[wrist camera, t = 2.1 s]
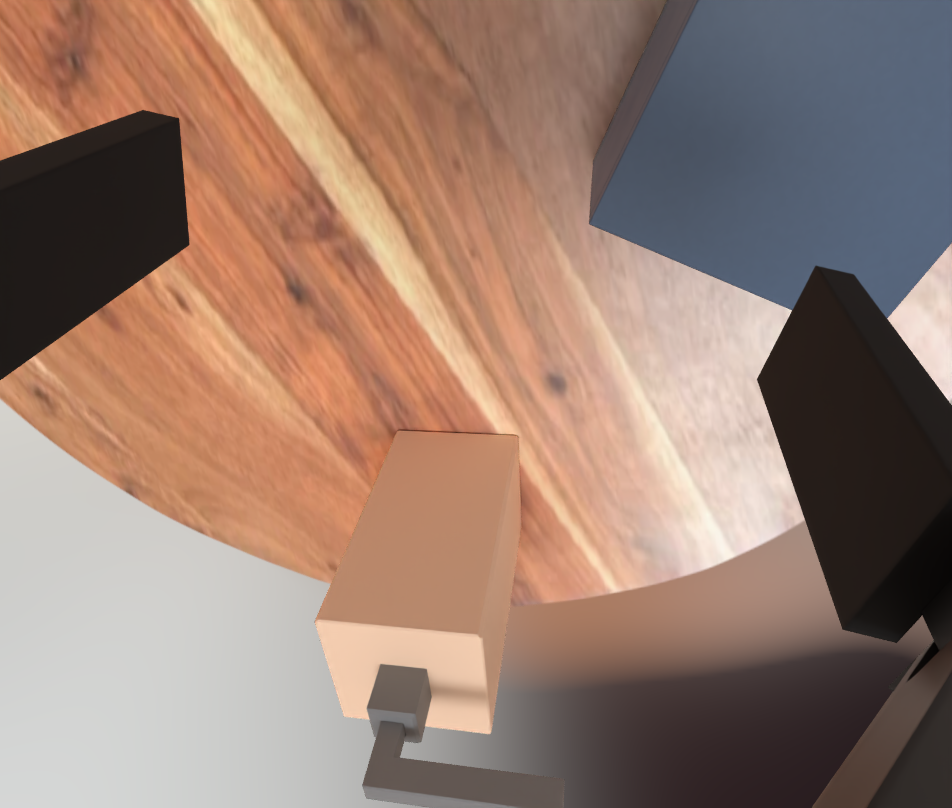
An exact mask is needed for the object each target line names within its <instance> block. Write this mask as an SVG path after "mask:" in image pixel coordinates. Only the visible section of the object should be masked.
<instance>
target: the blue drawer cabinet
mask: <svg viewBox="0 0 952 808" xmlns="http://www.w3.org/2000/svg"><path fill="white" fill-rule="evenodd" d="M589 224H590V225H592V226H595V227H597V228H599V229H602V230H604V231H606V232H609V233H611V234H614V235H616V236H618V237H621V238H623V239H625V240H628V241H630V242H632V243H635V244H637V245H639V246H642V247H644V248H647V249H649V250H651V251H654V252H656V253H658V254H661V255H663V256H665V257H668V258H670V259H672V260H675V261H677V262H680V263H682V264H684V265H687V266H689V267H691V268H694V269H696V270H698V271H701V272H703V273H705V274H708V275H710V276H713V277H715V278H717V279H720V280H722V281H724V282H727V283H729V284H731V285H734V286H736V287H739V288H741V289H743V290H746V291H748V292H750V293H753V294H755V295H757V296H760V297H762V298H764V299H767V300H769V301H772V302H774V303H776V304H779V305H781V306H783V307H786V308H788V309H790V310H793V308H794V306H795V304H796V302H797V300H798V298H799V297H800V295H801V293H802V291H803V289H804V287H805V285H806V283H807V281H808V279H809V277H810V275H811V273H812V271H813V269H814V267H815V265H816V266H820V267H825V268H829V269H833V270H838V271H842V272H846V273H851V274H854V275H855V276H856V278H857V279H858V280H859V282H860V283H861V285H862V286H863V287H864V289H865V290H866V291H867V293H868V294H869V295H870V297H871V298H872V299H873V301H874V302H875V303H876V305H877V306H878V307H879V309H880V310H881V311H882V313H883V314H884V315H885V317H886V318H888V317H889V316H890V315H891V313H892V312H893V311H894V310H895V309H896V307H897V306H898V305H899V304H900V303H901V302H902V300H903V299H904V298H905V297H906V296H907V295H908V293H909V292H910V291H911V290H912V289H913V288H914V286H915V285H916V284H917V283H918V282H919V281H920V279H921V278H922V277H923V276H924V275H925V273H926V272H927V271H928V270H929V269H930V268H931V266H932V265H933V264H934V263H935V262H936V261H937V259H938V258H939V257H940V256H941V255H942V254H943V252H944V251H945V250H946V249H947V248H948V247H949V245H950V244H951V243H952V0H667V2H666V4H665V6H664V8H663V11H662V13H661V15H660V17H659V19H658V21H657V24H656V26H655V28H654V30H653V32H652V34H651V37H650V39H649V41H648V43H647V45H646V47H645V50H644V52H643V54H642V56H641V58H640V60H639V63H638V65H637V67H636V69H635V71H634V73H633V76H632V78H631V80H630V82H629V84H628V86H627V88H626V91H625V93H624V95H623V97H622V99H621V101H620V104H619V106H618V108H617V110H616V112H615V114H614V117H613V119H612V121H611V123H610V125H609V127H608V130H607V132H606V134H605V136H604V138H603V140H602V143H601V145H600V147H599V149H598V151H597V153H596V156H595V158H594V160H593V172H592V187H591V201H590V216H589Z"/></svg>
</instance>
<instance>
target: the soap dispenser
mask: <svg viewBox="0 0 952 808" xmlns="http://www.w3.org/2000/svg"><path fill="white" fill-rule="evenodd" d="M521 527H522V522H521V495H520V469H519V443H518V437H517V436H514V435H491V434H468V433H445V432H422V431H397V432H396V435H395V437H394V439H393V442H392V444H391V446H390V448H389V451H388V453H387V455H386V458H385V460H384V462H383V465H382V467H381V469H380V472H379V474H378V476H377V479H376V481H375V483H374V485H373V488H372V490H371V492H370V495H369V497H368V499H367V502H366V504H365V506H364V509H363V511H362V513H361V516H360V518H359V520H358V522H357V525H356V527H355V529H354V532H353V534H352V536H351V539H350V541H349V543H348V546H347V548H346V550H345V553H344V555H343V557H342V560H341V562H340V564H339V566H338V569H337V571H336V573H335V576H334V578H333V580H332V583H331V585H330V588H329V590H328V592H327V594H326V597H325V599H324V601H323V603H322V606H321V608H320V611H319V613H318V615H317V617H316V620H315V625H316V628H317V631H318V634H319V637H320V640H321V644H322V647H323V650H324V654H325V657H326V660H327V663H328V666H329V669H330V673H331V676H332V679H333V682H334V686H335V688H336V692H337V695H338V699H339V702H340V705H341V708H342V711H343V715H344V716H345V717H352V718H360V719H368V720H370V723H371V726H372V730H373V734H374V736H375V737H376V740H375V744H374V747H373V751H372V754H371V758H370V761H369V764H368V768H367V771H366V774H365V778H364V782H363V785H362V786H363V789H364V793H365V796H366V798H367V799H374V800H380V801H387V802H394V803H401V804H409V805H415V806H422V807H429V808H563V802H564V779H560V778H552V777H544V776H536V775H528V774H521V773H513V772H506V771H498V770H490V769H482V768H474V767H467V766H459V765H451V764H443V763H436V762H428V761H421V760H413V759H405V758H400V755H401V751H402V747H403V743H404V741H405V742H413V743H419V742H421V741H422V736H423V732H424V728H425V726H427V727H435V728H443V729H451V730H460V731H468V732H476V733H484V734H490V733H491V731H492V724H493V717H494V710H495V704H496V696H497V690H498V683H499V676H500V669H501V663H502V656H503V649H504V642H505V636H506V629H507V621H508V615H509V608H510V602H511V595H512V588H513V581H514V574H515V568H516V561H517V554H518V547H519V540H520V533H521Z"/></svg>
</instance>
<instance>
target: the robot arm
mask: <svg viewBox="0 0 952 808" xmlns="http://www.w3.org/2000/svg"><path fill="white" fill-rule="evenodd" d="M188 245H189V233H188V221H187V209H186V197H185V185H184V173H183V161H182V149H181V137H180V124H179V118H175V117H171V116H166V115H162V114H158V113H154V112H149V111H145V110H142V111H139V112H136V113H133V114H131V115H128V116H125V117H122V118H119V119H117V120H114V121H111V122H108V123H105V124H102V125H100V126H97V127H94V128H91V129H88V130H86V131H83V132H80V133H77V134H74V135H71V136H69V137H66V138H63V139H60V140H57V141H55V142H52V143H49V144H46V145H43V146H40V147H38V148H35V149H32V150H29V151H26V152H24V153H21V154H18V155H15V156H12V157H9V158H7V159H4V160H1V161H0V380H1V379H3V378H4V377H5V376H7V375H8V374H10V373H11V372H12V371H14V370H15V369H17V368H18V367H19V366H21V365H22V364H24V363H25V362H26V361H28V360H29V359H31V358H32V357H33V356H35V355H36V354H38V353H39V352H40V351H42V350H43V349H45V348H46V347H47V346H49V345H50V344H52V343H53V342H54V341H56V340H57V339H59V338H60V337H61V336H63V335H64V334H66V333H67V332H68V331H70V330H71V329H73V328H74V327H75V326H77V325H78V324H80V323H81V322H82V321H84V320H85V319H87V318H88V317H89V316H91V315H92V314H93V313H95V312H96V311H98V310H99V309H100V308H102V307H103V306H105V305H106V304H107V303H109V302H110V301H112V300H113V299H114V298H116V297H117V296H119V295H120V294H121V293H123V292H124V291H126V290H127V289H128V288H130V287H131V286H133V285H134V284H135V283H137V282H138V281H140V280H141V279H142V278H144V277H145V276H147V275H148V274H149V273H151V272H152V271H154V270H155V269H156V268H158V267H159V266H161V265H162V264H163V263H165V262H166V261H168V260H169V259H170V258H172V257H173V256H175V255H176V254H177V253H179V252H180V251H181V250H183V249H184V248H186V247H187V246H188ZM757 381H758V384H759V387H760V389H761V392H762V395H763V398H764V401H765V404H766V407H767V410H768V413H769V416H770V419H771V422H772V425H773V427H774V430H775V433H776V436H777V439H778V442H779V445H780V448H781V451H782V454H783V457H784V460H785V462H786V465H787V468H788V471H789V474H790V477H791V480H792V483H793V486H794V489H795V492H796V495H797V498H798V500H799V503H800V506H801V509H802V512H803V515H804V518H805V521H806V524H807V527H808V530H809V533H810V535H811V538H812V541H813V544H814V547H815V550H816V553H817V556H818V559H819V562H820V565H821V567H822V570H823V573H824V576H825V579H826V582H827V585H828V588H829V591H830V594H831V597H832V600H833V603H834V606H835V609H836V611H837V614H838V617H839V620H840V623H841V626H842V629H843V630H847V631H851V632H855V633H859V634H863V635H867V636H871V637H875V638H879V639H883V640H887V641H892V642H895V643H897V642H898V641H899V640H900V639H901V638H902V637H903V635H904V634H905V633H906V632H907V631H908V630H909V629H910V628H911V627H912V626H913V624H915V623H916V621H917V620H918V619H919V618H920V617H921V616H922V615H923V617H924V620H925V622H926V624H927V626H928V628H929V630H930V632H931V635H932V637H933V639H934V640H933V642H932V643H931V644H930V645H929V646H928V647H927V648H926V649H925V650H924V651H923V652H922V653H921V654H920V655H919V656H918V657H917V658H916V659H915V660H914V661H913V662H912V663H911V664H910V665H909V666H908V667H907V668H906V669H905V670H904V671H903V672H902V673H901V674H900V675H899V677H897V678H896V679H895V680H894V681H893V683H892V684H891V685H890V686H889V687H888V688H890V689H891V690H892V691H893V693H892V694H891V696H890V697H889V698H888V700H887V701H886V703H885V704H884V706H883V707H882V708H881V710H880V711H879V713H878V714H877V715H876V717H875V718H874V720H873V721H872V723H871V724H870V726H869V727H868V728H867V730H866V731H865V733H864V734H863V736H862V737H861V738H860V740H859V741H858V743H857V744H856V746H855V747H854V748H853V750H852V751H851V753H850V754H849V755H848V757H847V758H846V760H845V761H844V763H843V764H842V766H841V767H840V768H839V770H838V771H837V773H836V774H835V776H834V777H833V778H832V780H831V781H830V782H829V784H828V785H827V787H826V788H825V790H824V791H823V793H822V794H821V795H820V797H819V798H818V800H817V801H816V802H815V804H814V805H813V807H812V808H952V405H951V404H950V403H949V401H948V400H947V398H946V397H945V396H944V394H943V393H942V392H941V390H940V389H939V388H938V386H937V385H936V384H935V382H934V381H933V380H932V378H931V377H930V376H929V374H928V373H927V372H926V370H925V369H924V368H923V366H922V365H921V364H920V362H919V361H918V360H917V358H916V357H915V356H914V354H913V353H912V352H911V350H910V349H909V348H908V346H907V345H906V344H905V342H904V341H903V339H902V338H901V337H900V335H899V334H898V333H897V331H896V330H895V329H894V327H893V326H892V325H891V323H890V322H889V321H888V319H887V318H886V317H885V315H884V314H883V313H882V311H881V310H880V309H879V307H878V306H877V305H876V303H875V302H874V301H873V299H872V298H871V297H870V295H869V294H868V293H867V291H866V290H865V289H864V287H863V286H862V285H861V283H860V282H859V280H858V279H857V278H856V276H855V275H854V274H851V273H846V272H842V271H838V270H833V269H829V268H825V267H820V266H816V265H815V267H814V269H813V271H812V273H811V275H810V277H809V279H808V281H807V283H806V285H805V287H804V289H803V291H802V293H801V295H800V297H799V298H798V300H797V302H796V304H795V306H794V308H793V310H792V312H791V314H790V316H789V318H788V320H787V322H786V324H785V326H784V328H783V330H782V332H781V334H780V336H779V337H778V339H777V341H776V343H775V345H774V347H773V349H772V351H771V353H770V355H769V357H768V359H767V361H766V363H765V365H764V367H763V369H762V371H761V373H760V374H759V376H758V378H757Z"/></svg>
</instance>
